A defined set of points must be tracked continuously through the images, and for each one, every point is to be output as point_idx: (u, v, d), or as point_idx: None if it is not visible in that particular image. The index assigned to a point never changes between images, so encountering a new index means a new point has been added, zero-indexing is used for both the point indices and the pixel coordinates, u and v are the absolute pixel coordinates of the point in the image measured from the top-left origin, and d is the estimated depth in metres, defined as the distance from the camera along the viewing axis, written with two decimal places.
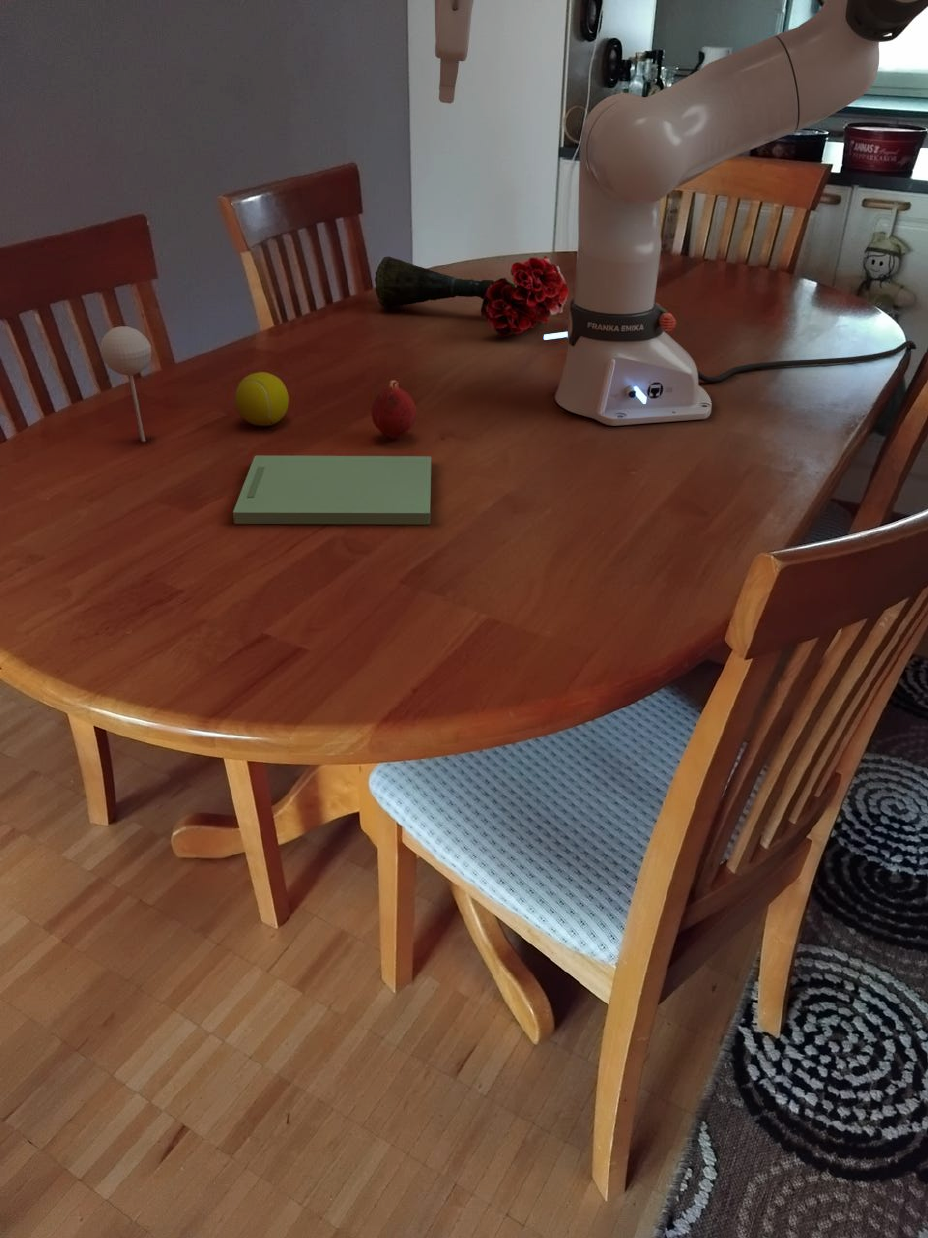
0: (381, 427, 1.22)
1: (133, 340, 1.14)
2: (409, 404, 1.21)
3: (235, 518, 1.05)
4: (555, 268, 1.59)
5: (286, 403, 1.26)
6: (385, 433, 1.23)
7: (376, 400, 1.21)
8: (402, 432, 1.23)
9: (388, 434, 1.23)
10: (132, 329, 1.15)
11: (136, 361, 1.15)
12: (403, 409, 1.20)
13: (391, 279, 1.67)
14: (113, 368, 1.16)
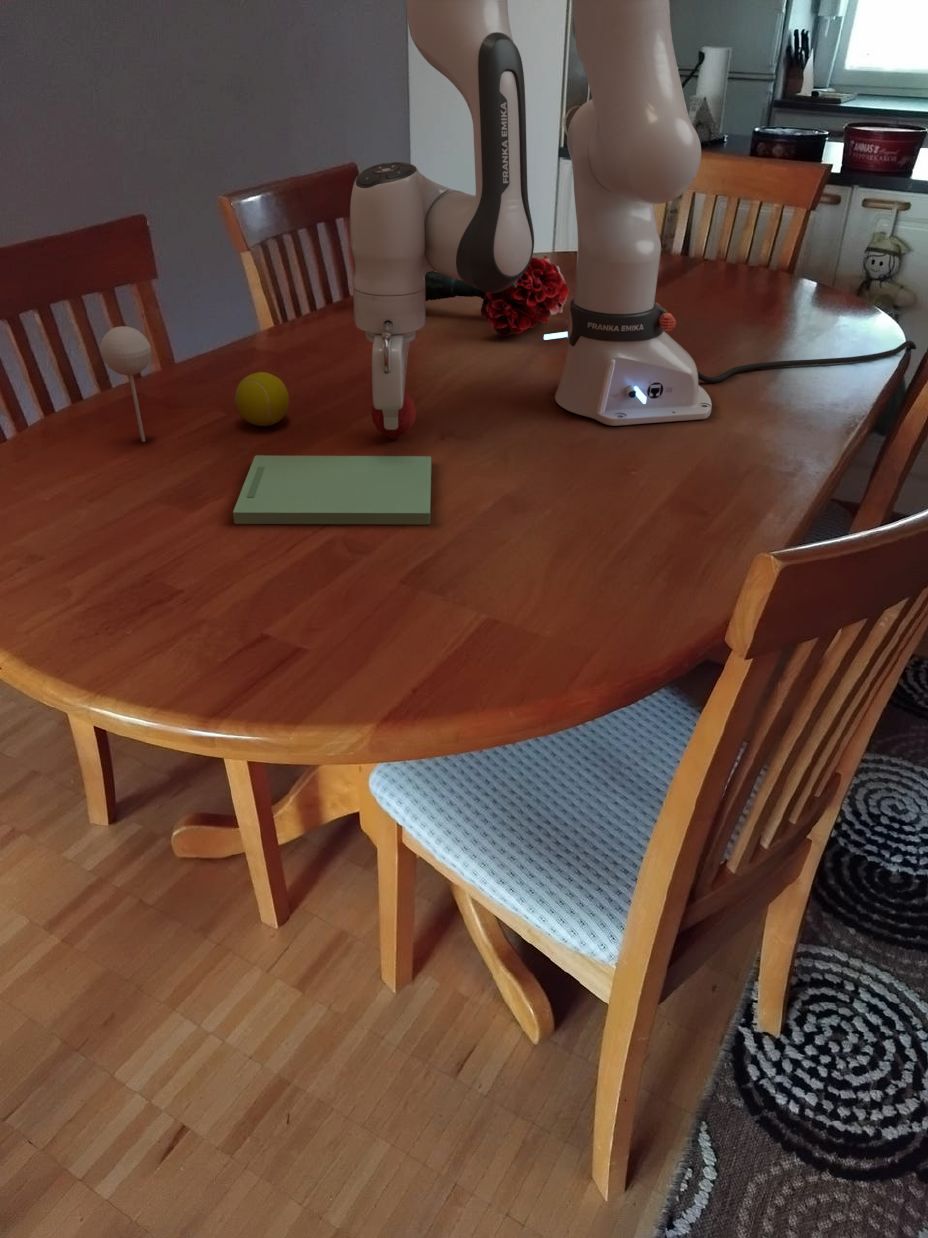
0: (381, 427, 1.22)
1: (133, 340, 1.14)
2: (409, 404, 1.21)
3: (235, 518, 1.05)
4: (555, 268, 1.59)
5: (286, 403, 1.26)
6: (385, 433, 1.23)
7: None
8: (402, 432, 1.23)
9: (388, 434, 1.23)
10: (132, 329, 1.15)
11: (136, 361, 1.15)
12: (403, 409, 1.20)
13: None
14: (113, 368, 1.16)
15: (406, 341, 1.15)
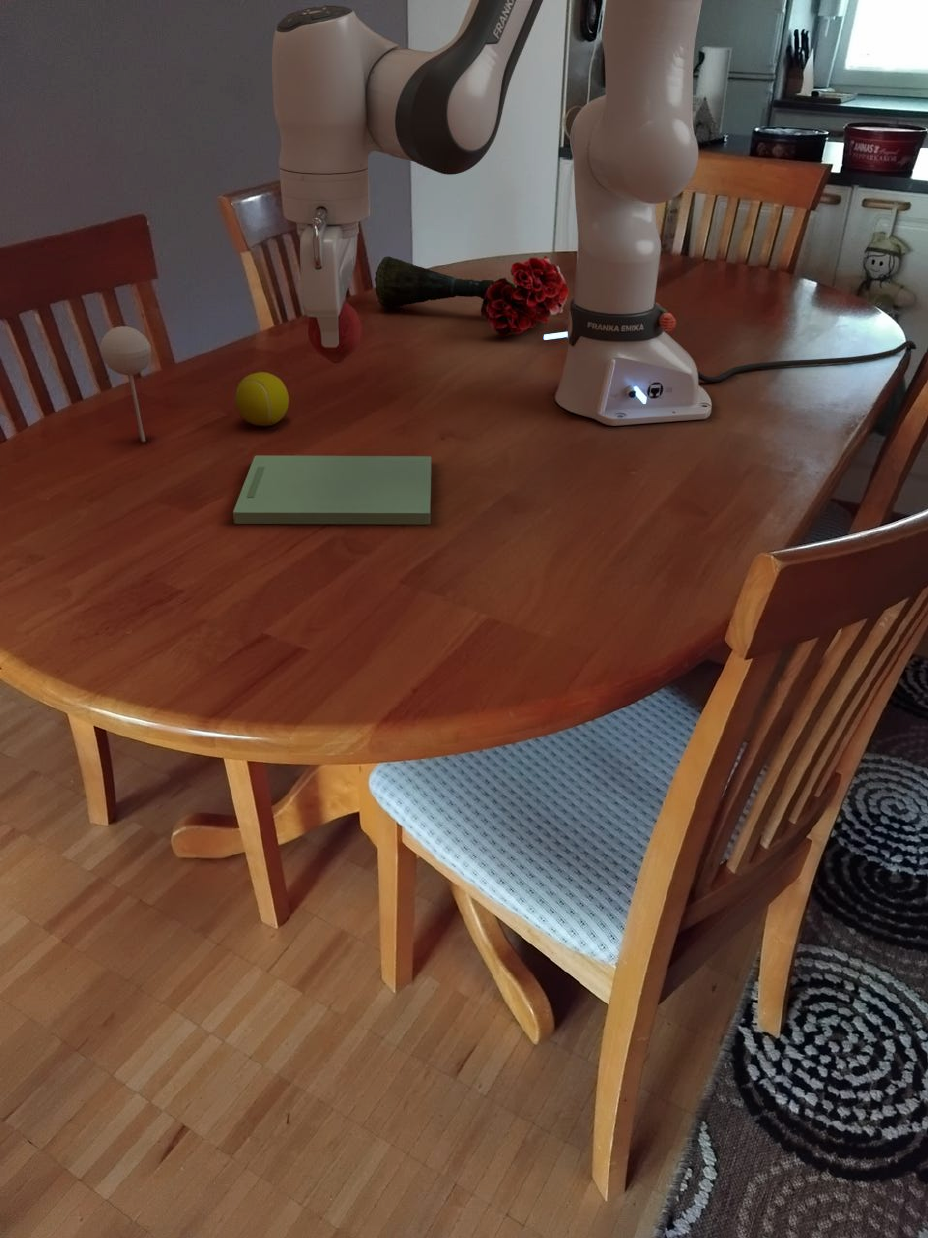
0: (319, 346, 1.01)
1: (133, 340, 1.14)
2: (352, 317, 1.00)
3: (235, 518, 1.05)
4: (555, 268, 1.59)
5: (286, 403, 1.26)
6: (324, 354, 1.02)
7: None
8: (345, 353, 1.02)
9: (328, 355, 1.02)
10: (132, 329, 1.15)
11: (136, 361, 1.15)
12: (345, 324, 1.00)
13: (391, 278, 1.67)
14: (113, 368, 1.16)
15: (346, 236, 0.94)
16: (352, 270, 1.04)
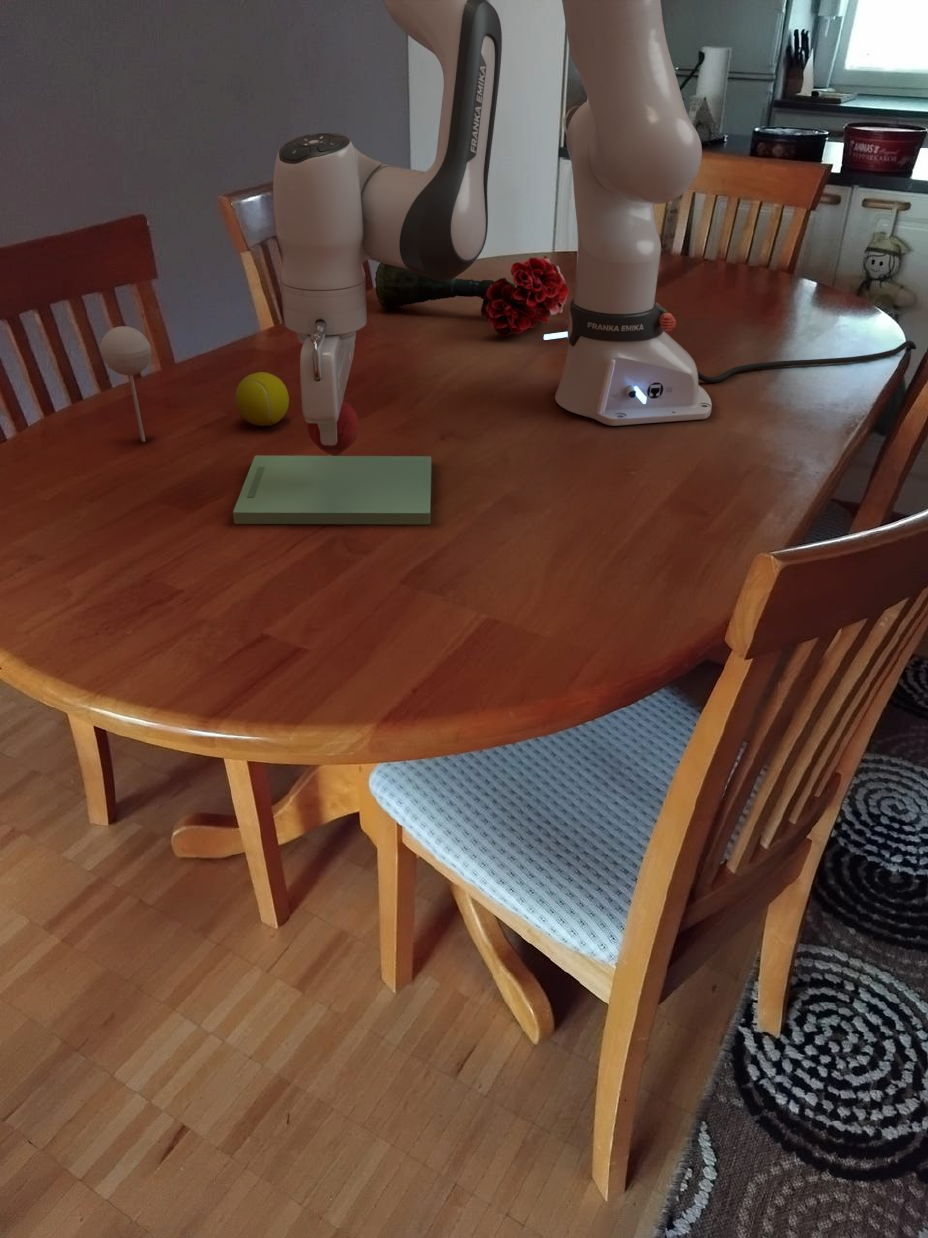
0: (318, 442, 1.06)
1: (133, 340, 1.14)
2: (349, 415, 1.05)
3: (235, 518, 1.05)
4: (555, 268, 1.59)
5: (286, 403, 1.26)
6: (323, 449, 1.06)
7: None
8: (343, 448, 1.06)
9: (327, 450, 1.07)
10: (132, 329, 1.15)
11: (136, 361, 1.15)
12: (343, 422, 1.04)
13: (391, 278, 1.67)
14: (113, 368, 1.16)
15: (344, 343, 0.99)
16: (350, 367, 1.09)
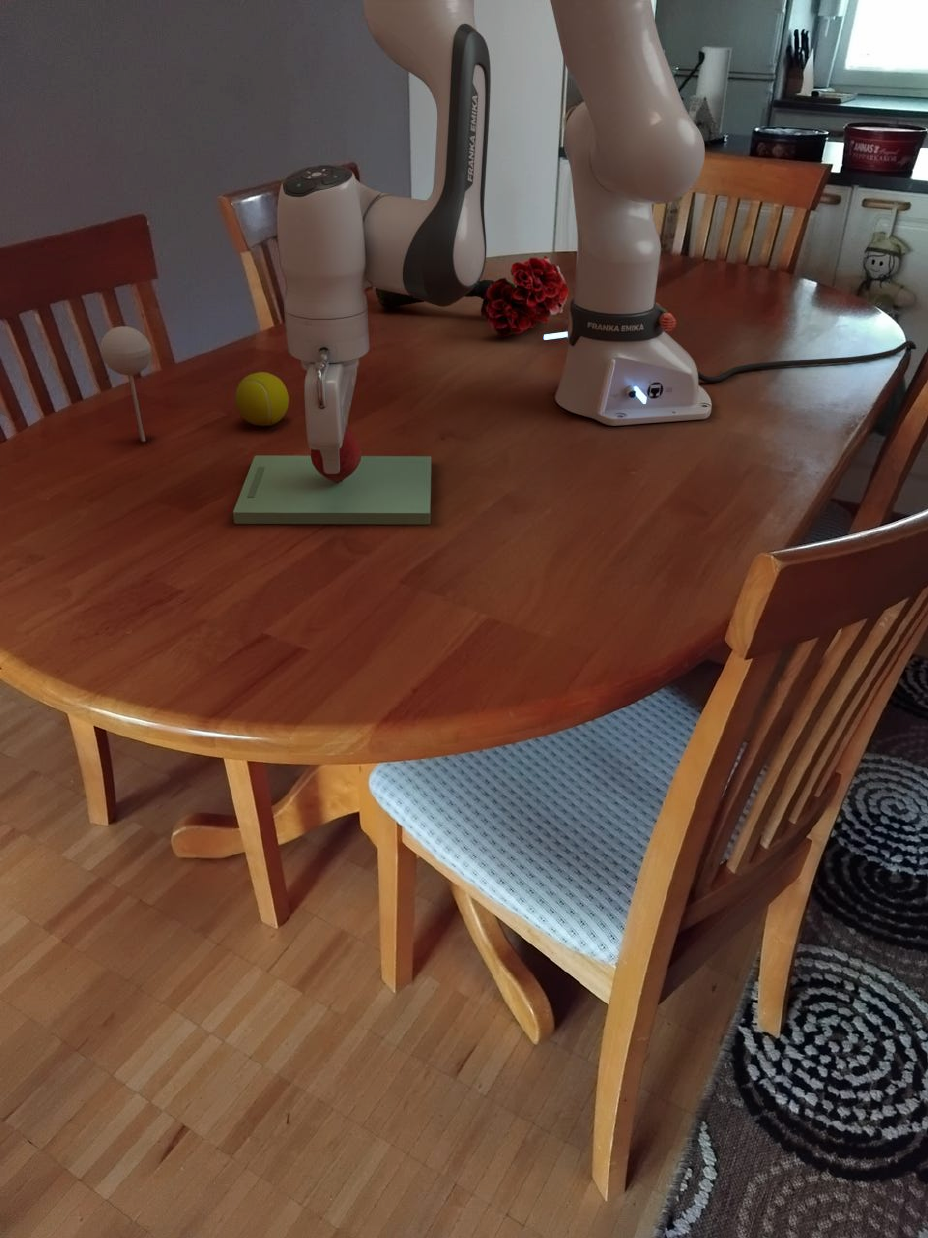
0: (321, 470, 1.08)
1: (133, 340, 1.14)
2: (352, 444, 1.07)
3: (235, 518, 1.05)
4: (555, 268, 1.59)
5: (286, 403, 1.26)
6: (326, 476, 1.08)
7: None
8: (345, 475, 1.08)
9: (329, 477, 1.08)
10: (132, 329, 1.15)
11: (136, 361, 1.15)
12: (345, 450, 1.06)
13: None
14: (113, 368, 1.16)
15: (347, 370, 1.01)
16: None
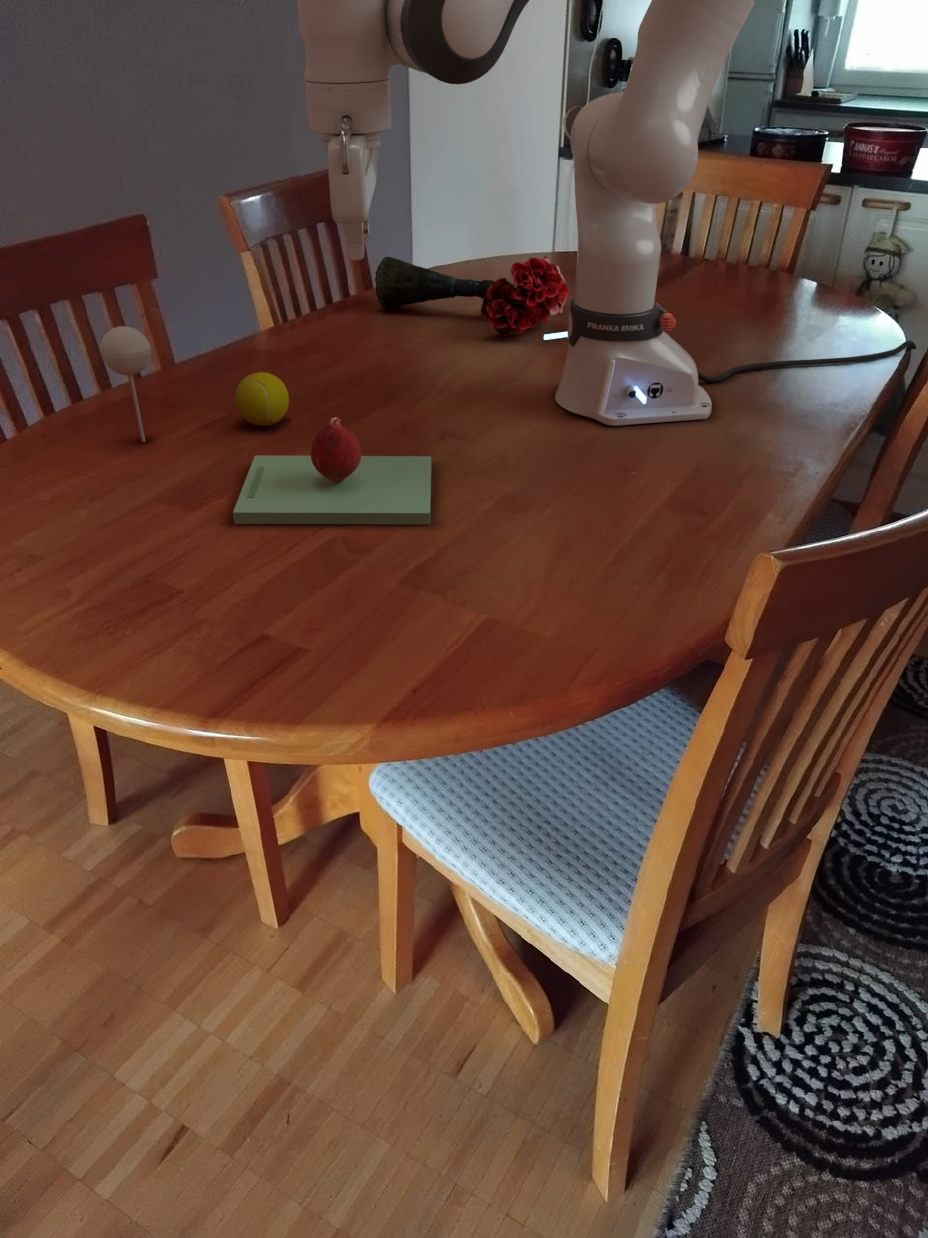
0: (321, 470, 1.08)
1: (133, 340, 1.14)
2: (352, 444, 1.07)
3: (235, 518, 1.05)
4: (555, 268, 1.59)
5: (286, 403, 1.26)
6: (326, 476, 1.08)
7: (315, 439, 1.07)
8: (345, 475, 1.08)
9: (329, 477, 1.08)
10: (132, 329, 1.15)
11: (136, 361, 1.15)
12: (345, 450, 1.06)
13: (391, 278, 1.67)
14: (113, 368, 1.16)
15: (369, 146, 0.99)
16: (374, 186, 1.08)
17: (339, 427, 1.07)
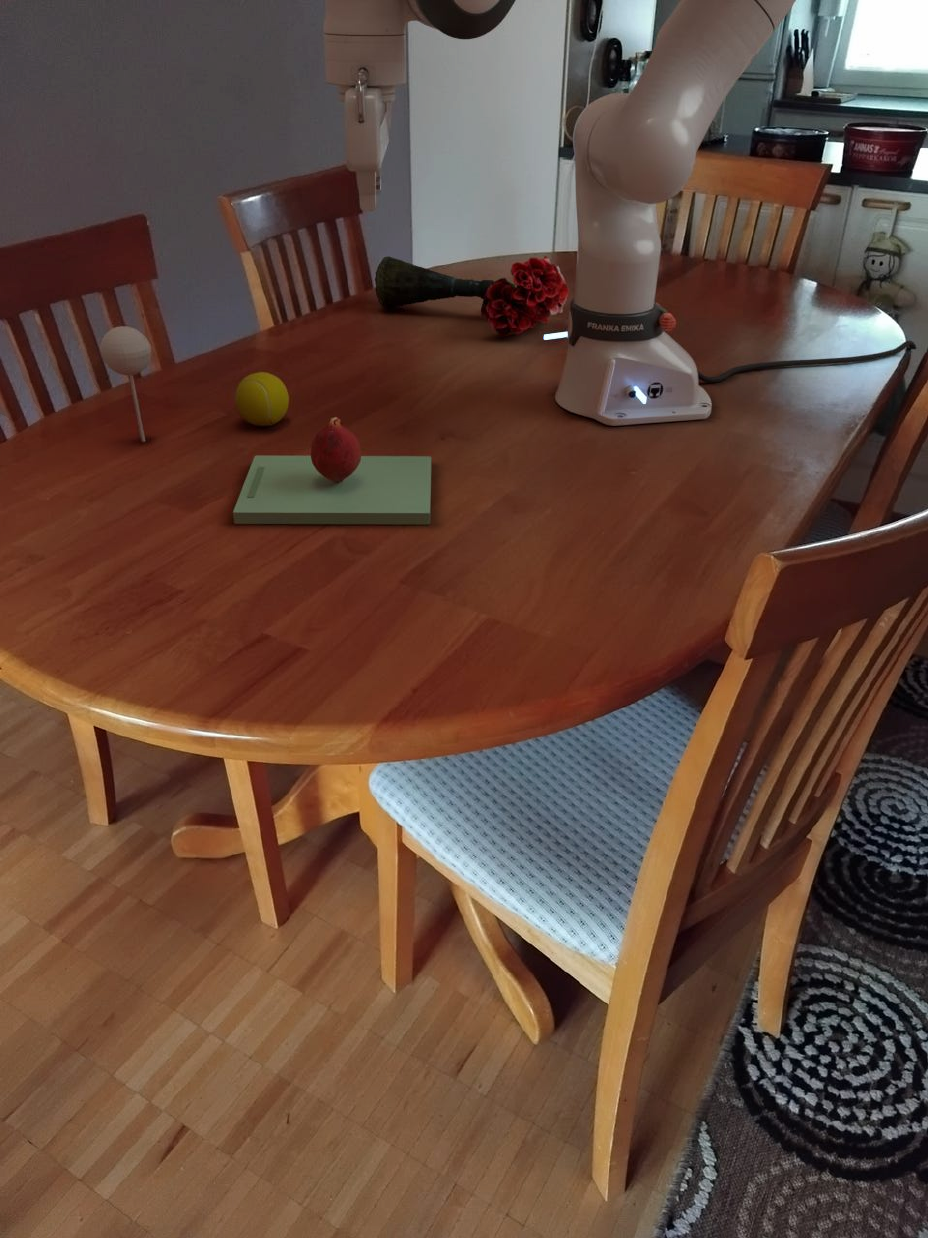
0: (321, 470, 1.08)
1: (133, 340, 1.14)
2: (352, 444, 1.07)
3: (235, 518, 1.05)
4: (555, 268, 1.59)
5: (286, 403, 1.26)
6: (326, 476, 1.08)
7: (315, 439, 1.07)
8: (345, 475, 1.08)
9: (329, 477, 1.08)
10: (132, 329, 1.15)
11: (136, 361, 1.15)
12: (345, 450, 1.06)
13: (391, 278, 1.67)
14: (113, 368, 1.16)
15: (384, 100, 1.02)
16: (387, 143, 1.11)
17: (339, 427, 1.07)
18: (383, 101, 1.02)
